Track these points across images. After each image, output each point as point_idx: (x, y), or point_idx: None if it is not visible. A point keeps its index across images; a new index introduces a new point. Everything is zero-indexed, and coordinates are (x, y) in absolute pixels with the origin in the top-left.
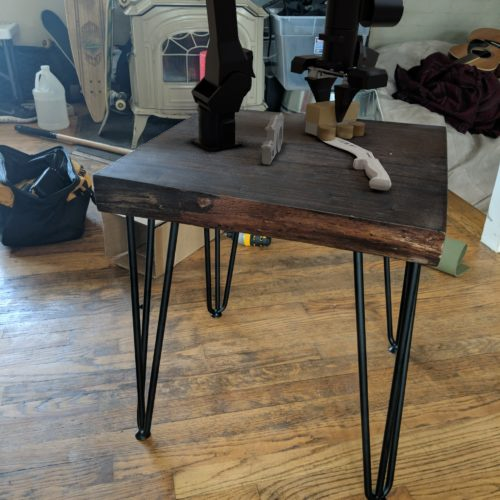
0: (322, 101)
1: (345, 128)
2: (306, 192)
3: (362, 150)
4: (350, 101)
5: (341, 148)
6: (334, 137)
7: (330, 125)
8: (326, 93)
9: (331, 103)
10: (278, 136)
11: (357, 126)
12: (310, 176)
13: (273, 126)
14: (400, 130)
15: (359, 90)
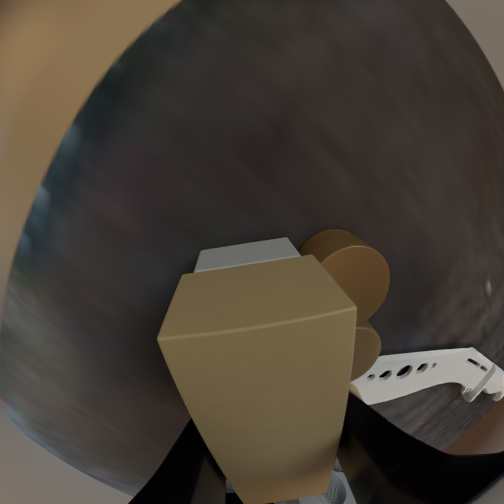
0: (221, 477)
1: (367, 368)
2: (440, 444)
3: (457, 361)
4: (401, 439)
5: (412, 392)
6: (358, 391)
7: None
8: (205, 501)
9: (280, 466)
10: (346, 495)
11: (377, 307)
12: (425, 440)
13: None
14: (363, 27)
15: (471, 458)
